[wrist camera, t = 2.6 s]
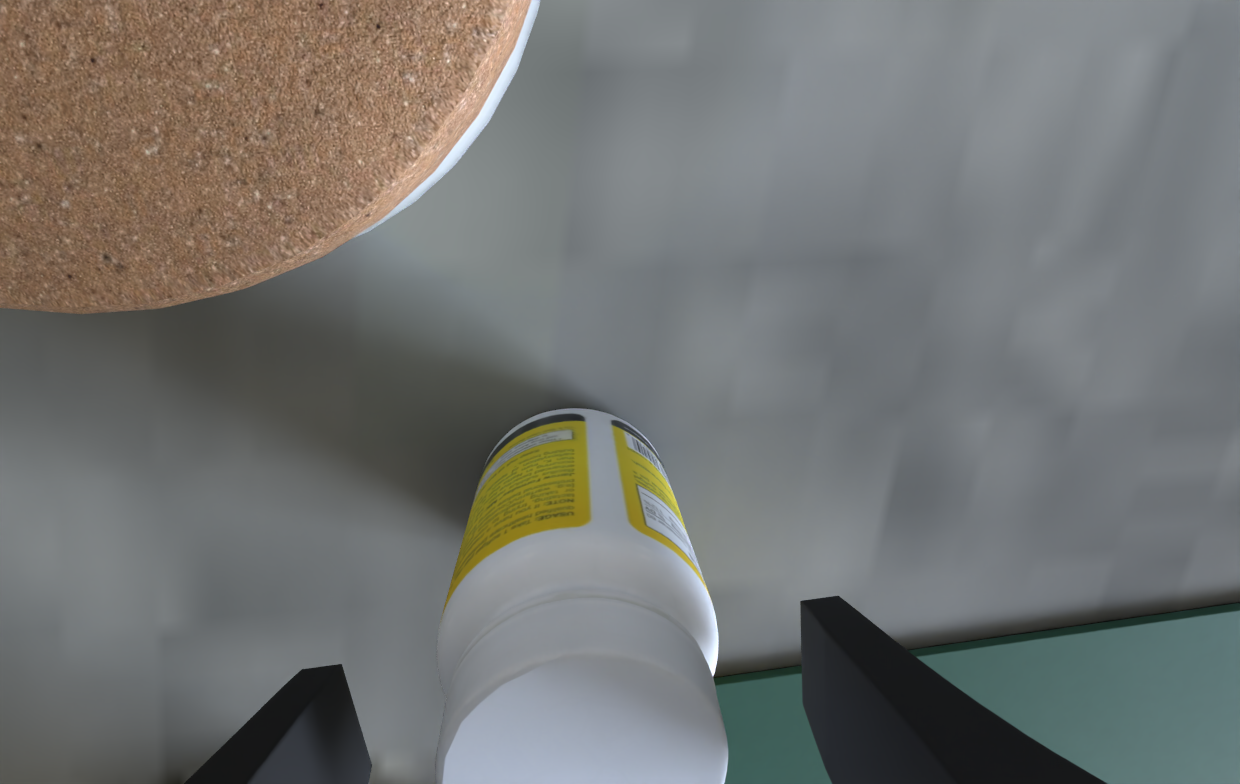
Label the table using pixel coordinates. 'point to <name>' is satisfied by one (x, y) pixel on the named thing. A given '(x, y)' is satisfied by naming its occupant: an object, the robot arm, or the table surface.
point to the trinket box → (226, 135)
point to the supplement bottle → (578, 619)
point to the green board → (1046, 700)
